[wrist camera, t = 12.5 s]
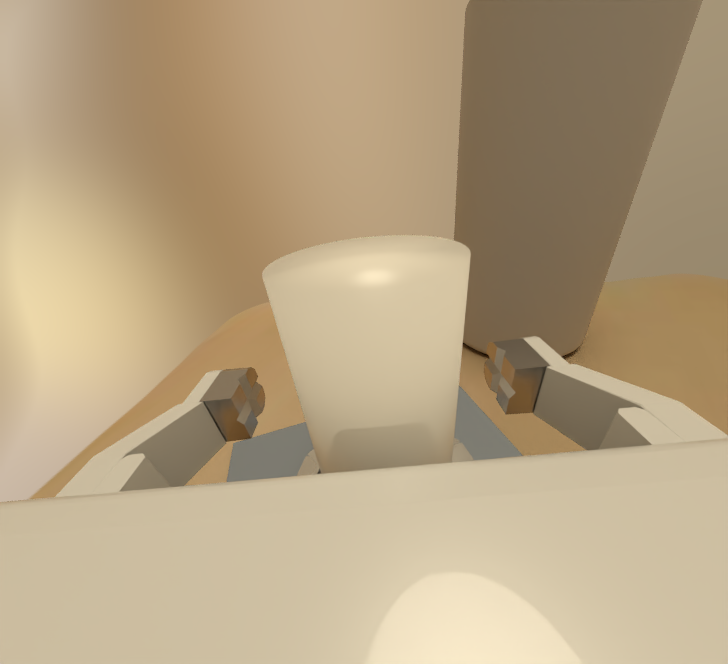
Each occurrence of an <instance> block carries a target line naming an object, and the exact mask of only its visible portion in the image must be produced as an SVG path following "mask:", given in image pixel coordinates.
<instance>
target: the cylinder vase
mask: <svg viewBox="0 0 728 664" xmlns="http://www.w3.org/2000/svg"><path fill="white" fill-rule="evenodd" d="M702 1H703V0H470V1H469V3H468V5H467V8H466V12H465V28H464V50H463V70H462V89H461V90H462V91H461V110H460V130H459V150H458V170H457V191H456V212H455V232H454V241H457V242H460V243H462V244H464V245H465V246H467V247H468V248H469V250H470V253H471V256H470V268H469V279H468V290H467V301H466V312H465V323H464V334H463V343H465V344H466V345H468V346H469V347H471V348H473V349H475V350H477V351H479V352H482V353H485V354H487V353H486V350H487V345H488V343H489V342H495V341H504V340H512V339H519V338H525V337H532V336H536V337H539V338H541V339H542V340H543V341H544V342H545V343H546V344H547V345H548V346H550V347H551V348H552V349H553V350H554V351H555V352H556V353H558V354H559V355H560V356H561V357H562V356H565V355H567V354H569V353H571V352H573V351H574V350H576V349H577V348H578V347H579V346H580V345H581V344H582V342H583V340H584V338H585V335H586V332H587V329H588V327H589V324H590V321H591V318H592V315H593V312H594V309H595V307H596V304H597V301H598V298H599V295H600V292H601V289H602V287H603V284H604V281H605V278H606V275H607V272H608V269H609V267H610V264H611V260H612V257H613V255H614V252H615V249H616V247H617V244H618V241H619V238H620V235H621V232H622V229H623V226H624V224H625V221H626V218H627V215H628V212H629V209H630V206H631V204H632V201H633V198H634V195H635V192H636V189H637V187H638V184H639V181H640V178H641V175H642V172H643V169H644V166H645V164H646V161H647V158H648V155H649V152H650V149H651V147H652V143H653V141H654V138H655V135H656V132H657V129H658V127H659V123H660V121H661V118H662V115H663V112H664V109H665V106H666V103H667V101H668V98H669V95H670V92H671V89H672V86H673V84H674V81H675V78H676V75H677V72H678V69H679V66H680V64H681V60H682V58H683V55H684V52H685V49H686V46H687V44H688V41H689V38H690V35H691V32H692V29H693V26H694V24H695V21H696V18H697V15H698V12H699V9H700V6H701V3H702Z"/></svg>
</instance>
